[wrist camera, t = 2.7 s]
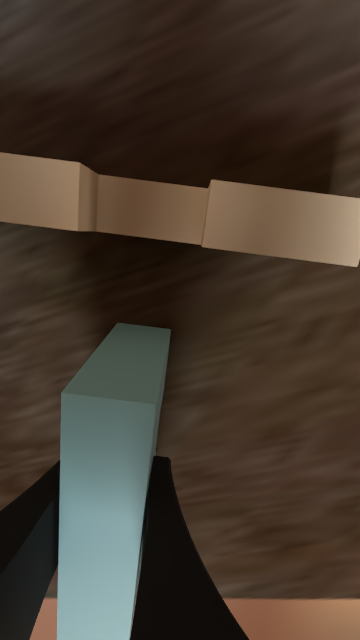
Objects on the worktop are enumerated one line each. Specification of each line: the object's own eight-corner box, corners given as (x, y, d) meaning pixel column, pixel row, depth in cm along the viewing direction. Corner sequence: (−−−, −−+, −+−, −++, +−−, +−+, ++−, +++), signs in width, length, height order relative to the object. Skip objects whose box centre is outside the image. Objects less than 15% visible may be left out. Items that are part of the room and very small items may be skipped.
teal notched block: (171, 329, 14) (156, 404, 8) (150, 500, 17) (127, 654, 11) (117, 322, 14) (61, 392, 8) (105, 494, 17) (56, 645, 11)
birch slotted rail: (326, 208, 13) (375, 200, 9) (314, 257, 13) (357, 267, 10) (-13, 165, 13) (-86, 141, 9) (-10, 216, 13) (-79, 211, 10)
